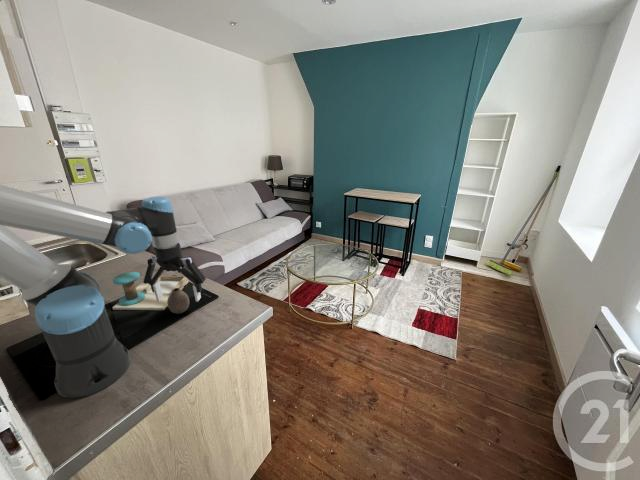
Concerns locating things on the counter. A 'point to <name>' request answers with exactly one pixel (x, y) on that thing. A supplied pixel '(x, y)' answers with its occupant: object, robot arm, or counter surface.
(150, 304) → the jig board
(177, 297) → the vase
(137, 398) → the counter surface
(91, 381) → the robot arm
